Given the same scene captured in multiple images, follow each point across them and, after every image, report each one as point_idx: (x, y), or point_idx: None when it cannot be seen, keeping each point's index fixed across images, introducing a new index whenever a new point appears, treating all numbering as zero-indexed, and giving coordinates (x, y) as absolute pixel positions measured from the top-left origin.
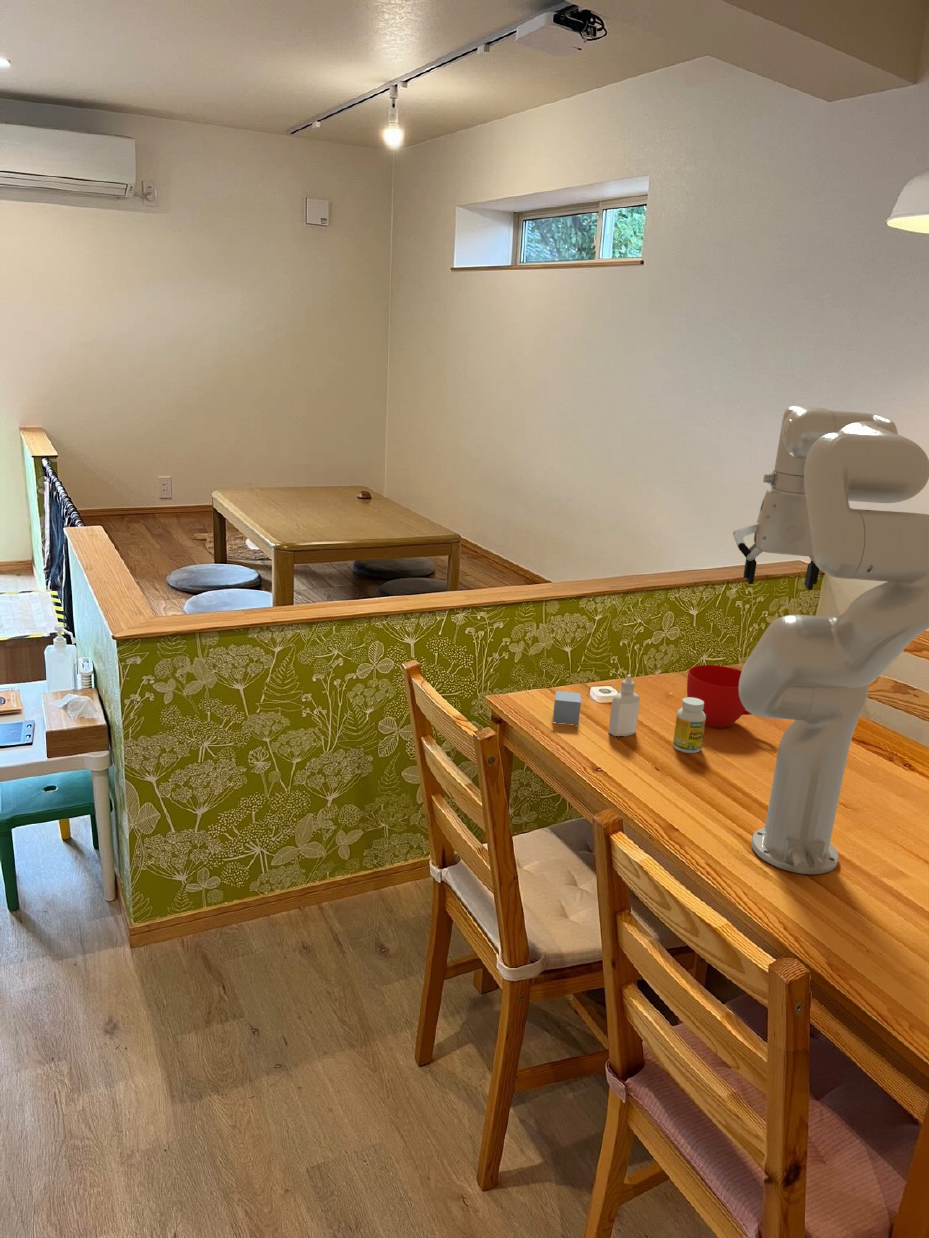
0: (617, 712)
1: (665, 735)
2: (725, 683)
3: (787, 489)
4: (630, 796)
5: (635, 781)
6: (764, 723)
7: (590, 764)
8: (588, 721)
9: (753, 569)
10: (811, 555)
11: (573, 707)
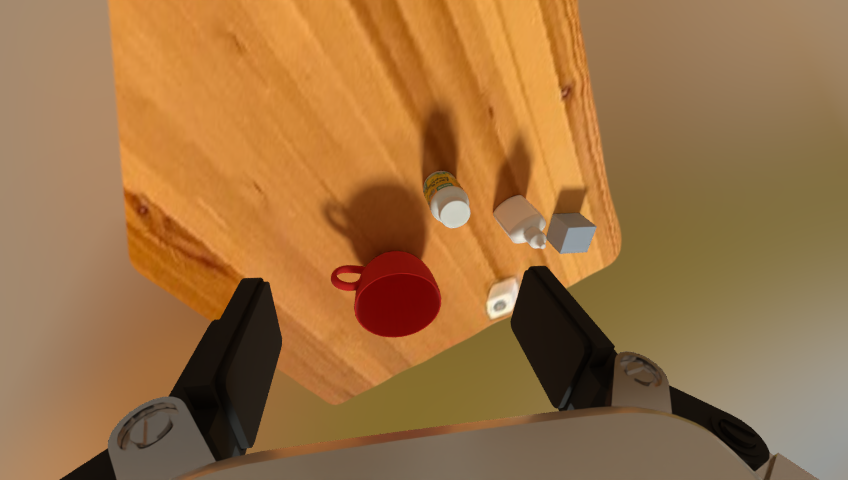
0: (534, 208)
1: None
2: (383, 318)
3: None
4: (548, 8)
5: (528, 63)
6: None
7: (571, 106)
8: None
9: (575, 312)
10: (194, 471)
11: (572, 223)
